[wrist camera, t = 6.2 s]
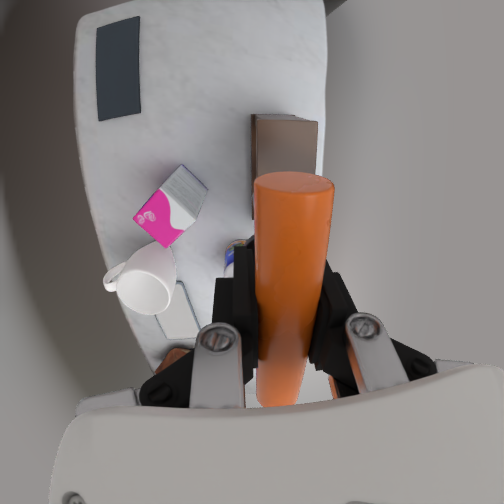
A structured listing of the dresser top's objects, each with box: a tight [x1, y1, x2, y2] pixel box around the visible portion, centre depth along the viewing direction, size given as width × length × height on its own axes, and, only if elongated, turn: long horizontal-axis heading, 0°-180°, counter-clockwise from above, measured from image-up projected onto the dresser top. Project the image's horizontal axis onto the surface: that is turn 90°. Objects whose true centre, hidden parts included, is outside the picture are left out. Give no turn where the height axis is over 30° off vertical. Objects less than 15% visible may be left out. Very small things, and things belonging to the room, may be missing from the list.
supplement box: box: [133, 165, 208, 249], centre depth 34 cm, size 6×6×12 cm
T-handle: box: [243, 171, 335, 407], centre depth 14 cm, size 10×3×14 cm, turn 1°
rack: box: [251, 114, 318, 220], centre depth 33 cm, size 16×6×12 cm, turn 0°
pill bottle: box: [224, 240, 246, 278], centre depth 42 cm, size 5×5×10 cm
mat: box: [96, 16, 141, 121], centre depth 28 cm, size 16×7×1 cm, turn 0°
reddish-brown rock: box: [155, 348, 191, 374], centre depth 57 cm, size 13×8×10 cm
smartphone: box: [155, 281, 201, 340], centre depth 52 cm, size 8×1×15 cm
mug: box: [103, 241, 177, 315], centre depth 40 cm, size 12×8×11 cm
